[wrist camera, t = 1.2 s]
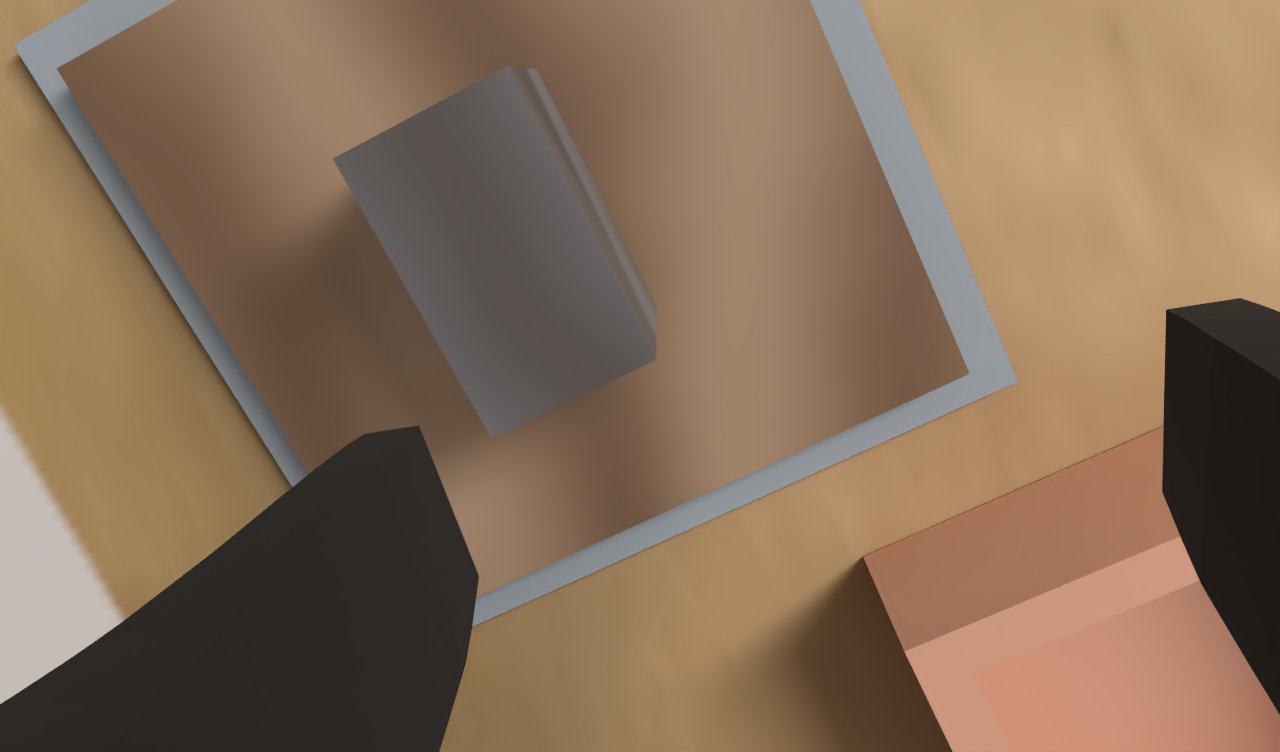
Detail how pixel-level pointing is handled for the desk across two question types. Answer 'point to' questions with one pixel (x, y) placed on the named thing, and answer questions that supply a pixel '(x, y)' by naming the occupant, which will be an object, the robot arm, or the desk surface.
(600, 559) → the rubber mat
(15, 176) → the desk surface
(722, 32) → the walnut lid
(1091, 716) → the pink open box
